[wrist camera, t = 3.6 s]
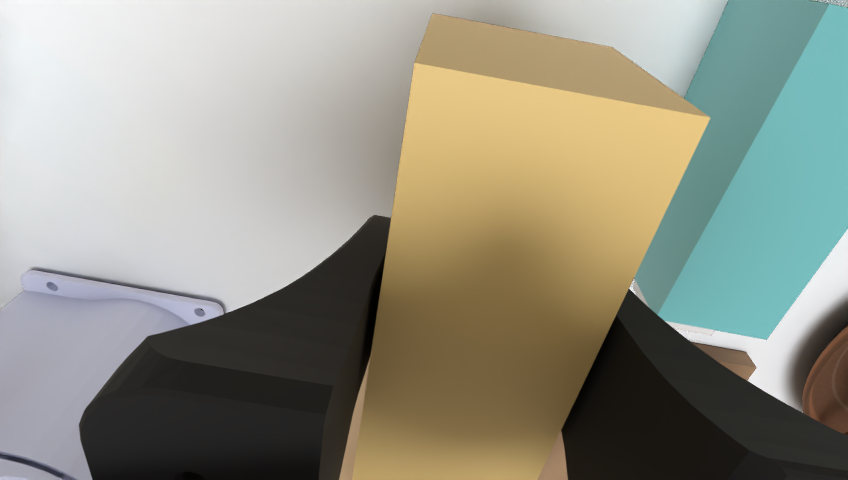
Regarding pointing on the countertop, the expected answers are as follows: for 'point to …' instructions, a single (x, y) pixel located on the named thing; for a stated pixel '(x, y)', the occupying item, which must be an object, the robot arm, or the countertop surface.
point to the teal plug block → (757, 172)
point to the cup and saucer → (829, 386)
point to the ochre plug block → (510, 244)
